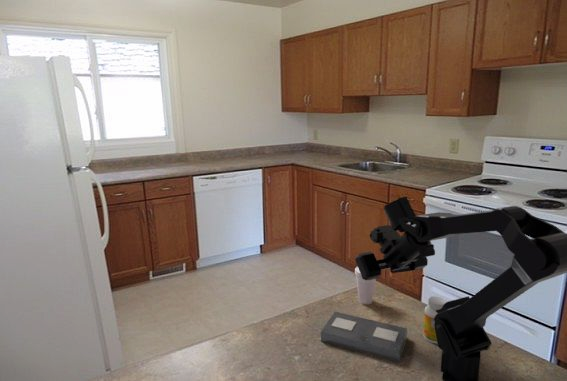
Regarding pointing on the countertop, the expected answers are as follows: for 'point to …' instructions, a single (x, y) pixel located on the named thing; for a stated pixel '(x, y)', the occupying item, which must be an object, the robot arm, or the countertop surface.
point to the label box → (365, 336)
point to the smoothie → (364, 288)
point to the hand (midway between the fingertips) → (377, 274)
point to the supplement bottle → (432, 317)
